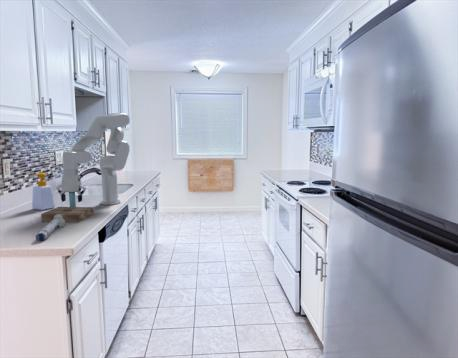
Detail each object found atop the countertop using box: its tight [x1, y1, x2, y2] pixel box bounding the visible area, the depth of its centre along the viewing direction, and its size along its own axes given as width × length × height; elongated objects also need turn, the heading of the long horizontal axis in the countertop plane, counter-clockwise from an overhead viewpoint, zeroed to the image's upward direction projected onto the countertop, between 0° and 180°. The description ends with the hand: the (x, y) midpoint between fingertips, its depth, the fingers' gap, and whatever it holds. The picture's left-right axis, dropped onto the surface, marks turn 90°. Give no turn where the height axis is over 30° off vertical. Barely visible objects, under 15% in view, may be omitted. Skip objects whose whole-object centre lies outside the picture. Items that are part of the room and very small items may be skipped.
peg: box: [68, 192, 77, 207], centre depth 189 cm, size 3×3×12 cm
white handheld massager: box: [35, 214, 66, 242], centre depth 148 cm, size 5×7×25 cm
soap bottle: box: [26, 172, 56, 211], centre depth 192 cm, size 10×14×22 cm
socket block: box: [40, 206, 95, 223], centre depth 175 cm, size 17×20×4 cm
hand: (71, 201), depth 188 cm, fingers open, 9 cm apart
